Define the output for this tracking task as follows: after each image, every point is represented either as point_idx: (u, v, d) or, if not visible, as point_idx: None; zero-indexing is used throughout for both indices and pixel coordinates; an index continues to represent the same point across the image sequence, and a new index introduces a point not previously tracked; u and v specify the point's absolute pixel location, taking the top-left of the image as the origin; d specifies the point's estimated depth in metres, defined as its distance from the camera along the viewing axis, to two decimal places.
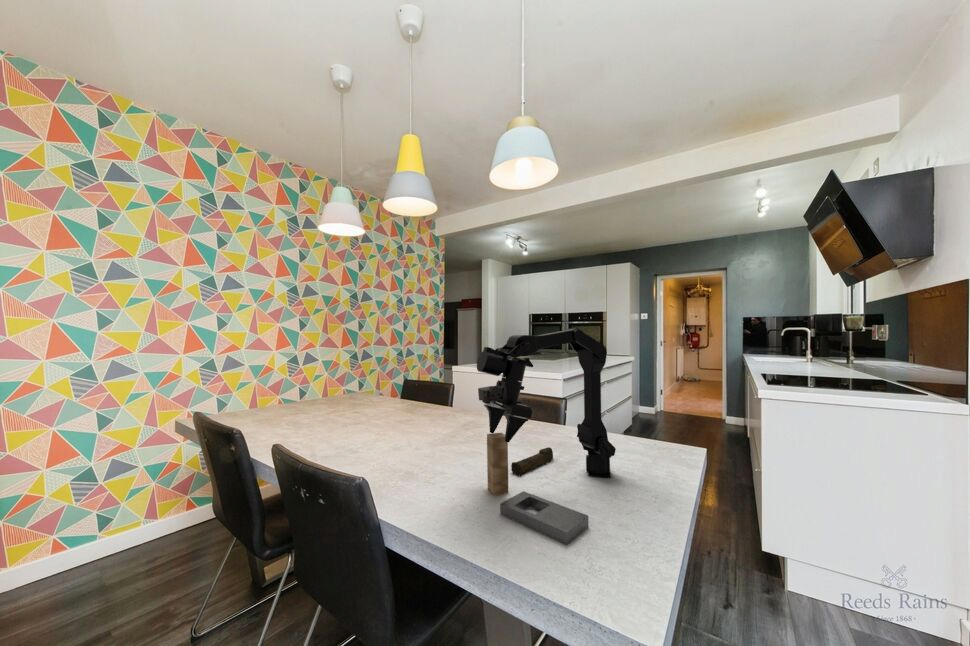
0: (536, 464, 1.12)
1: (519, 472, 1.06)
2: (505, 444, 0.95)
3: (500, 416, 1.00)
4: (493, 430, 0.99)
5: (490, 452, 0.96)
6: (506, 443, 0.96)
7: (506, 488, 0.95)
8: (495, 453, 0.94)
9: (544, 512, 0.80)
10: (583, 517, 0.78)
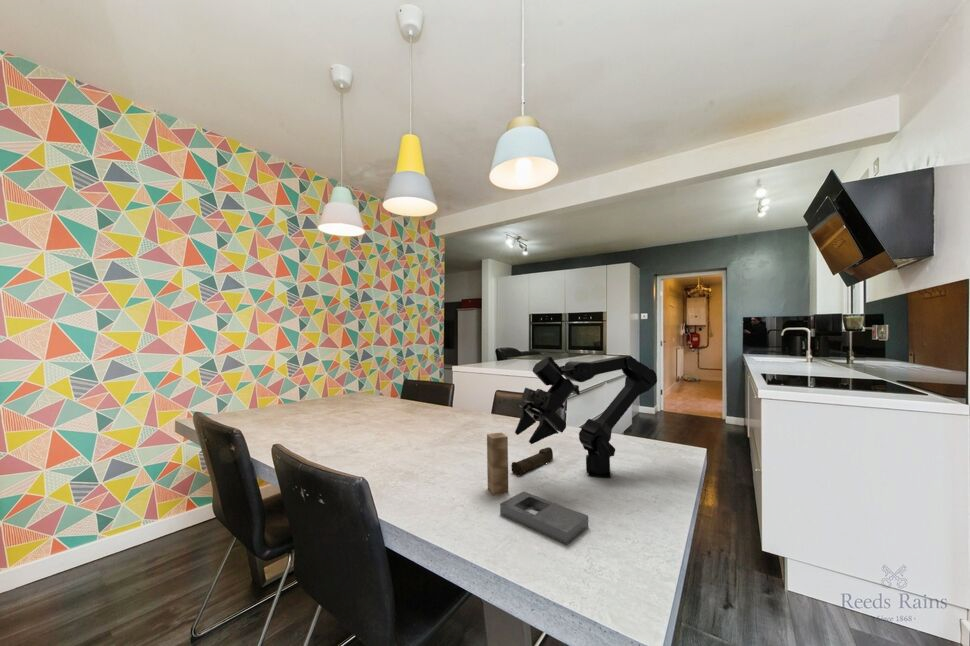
0: (536, 464, 1.12)
1: (519, 472, 1.06)
2: (505, 444, 0.95)
3: (529, 425, 1.06)
4: (518, 432, 1.04)
5: (490, 452, 0.96)
6: (506, 443, 0.96)
7: (506, 488, 0.95)
8: (495, 453, 0.94)
9: (544, 512, 0.80)
10: (583, 517, 0.78)
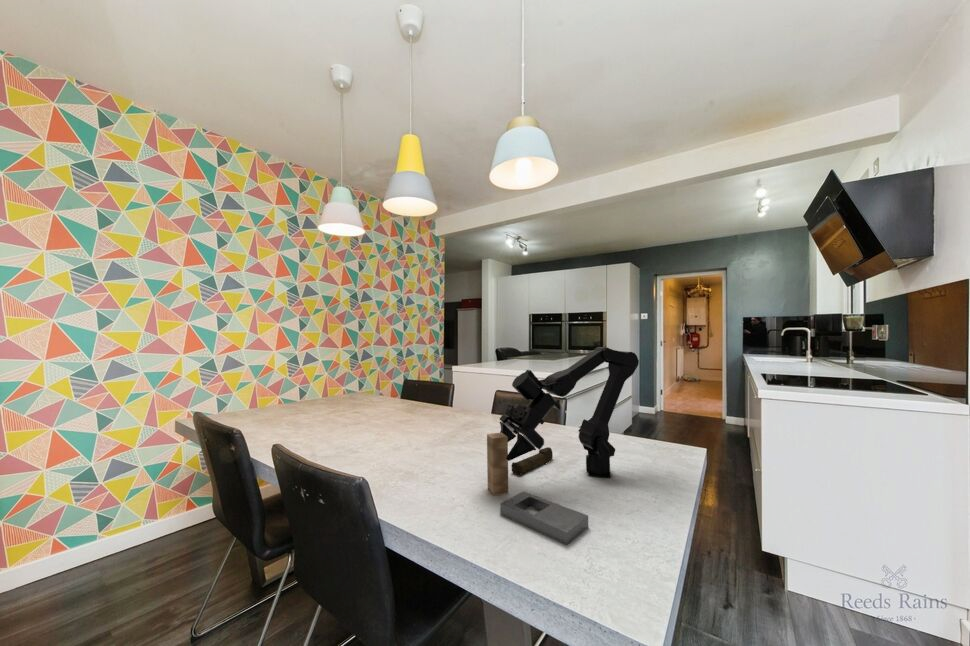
0: (536, 464, 1.12)
1: (519, 472, 1.06)
2: (505, 444, 0.95)
3: (509, 439, 1.04)
4: None
5: (490, 452, 0.96)
6: (506, 443, 0.96)
7: (506, 488, 0.95)
8: (495, 453, 0.94)
9: (544, 512, 0.80)
10: (583, 517, 0.78)
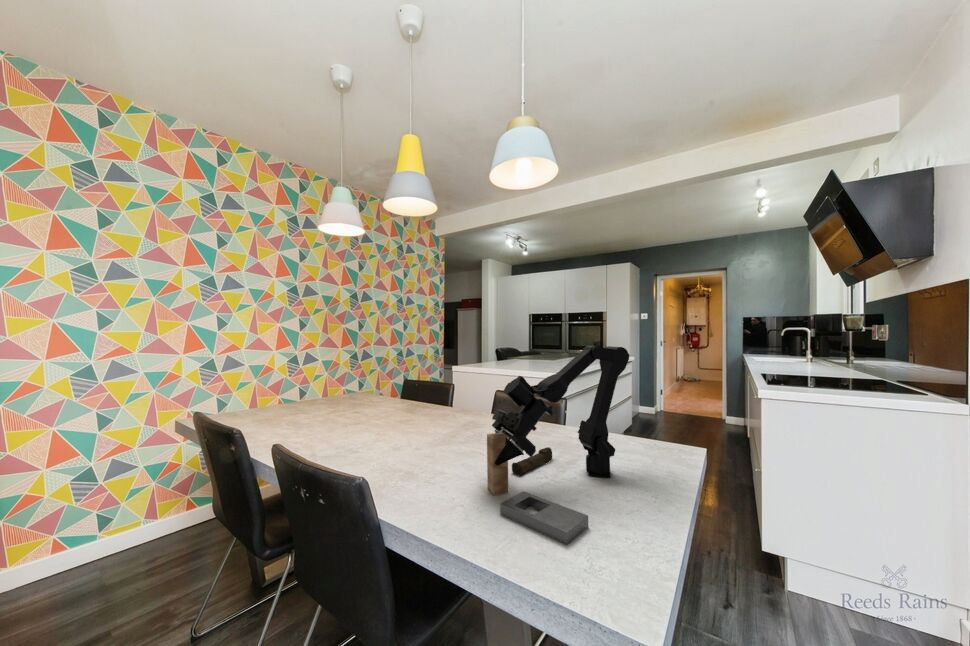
0: (536, 464, 1.12)
1: (520, 472, 1.06)
2: None
3: None
4: None
5: (490, 452, 0.96)
6: None
7: (506, 488, 0.95)
8: (495, 453, 0.94)
9: (544, 512, 0.80)
10: (583, 517, 0.78)
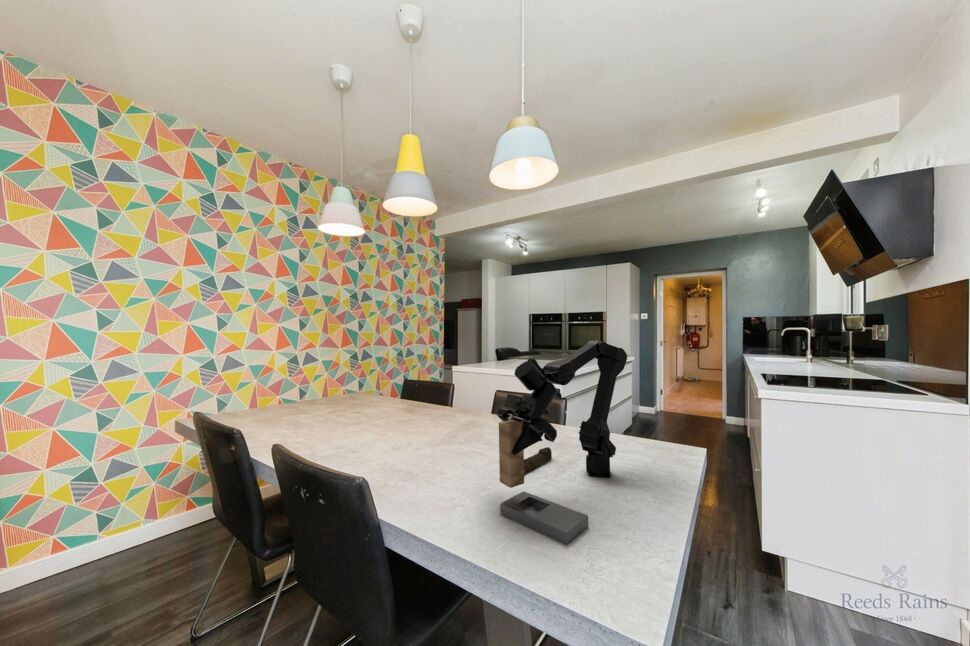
0: (536, 464, 1.12)
1: None
2: (521, 431, 0.88)
3: None
4: None
5: (505, 441, 0.88)
6: None
7: (522, 479, 0.88)
8: (512, 442, 0.87)
9: (544, 512, 0.80)
10: (583, 517, 0.78)
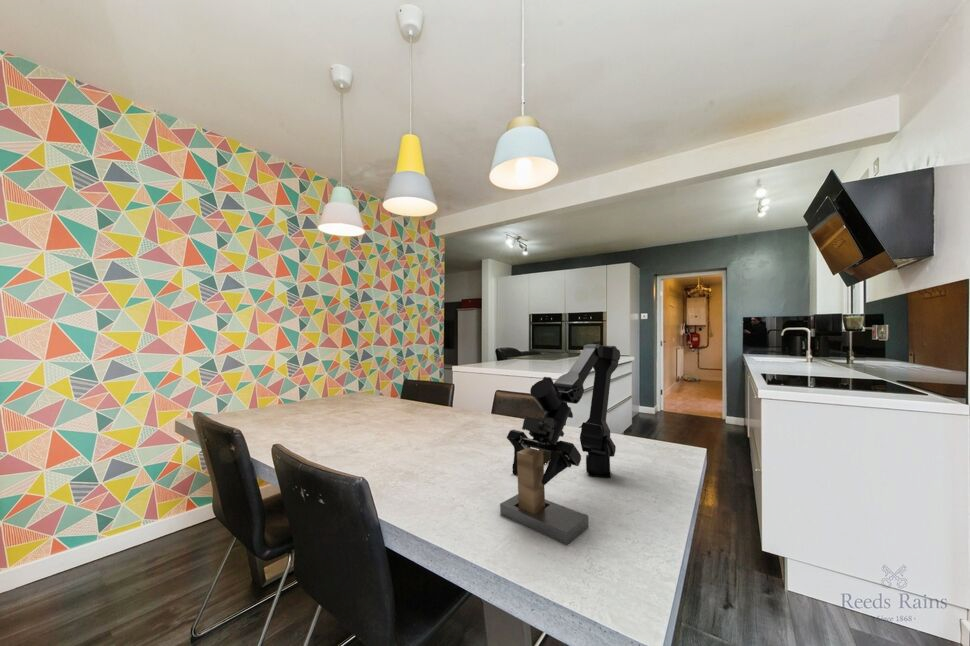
0: None
1: None
2: (541, 460, 0.83)
3: None
4: (516, 471, 0.86)
5: (526, 472, 0.81)
6: (542, 459, 0.83)
7: None
8: (534, 474, 0.81)
9: (544, 512, 0.80)
10: (583, 517, 0.78)
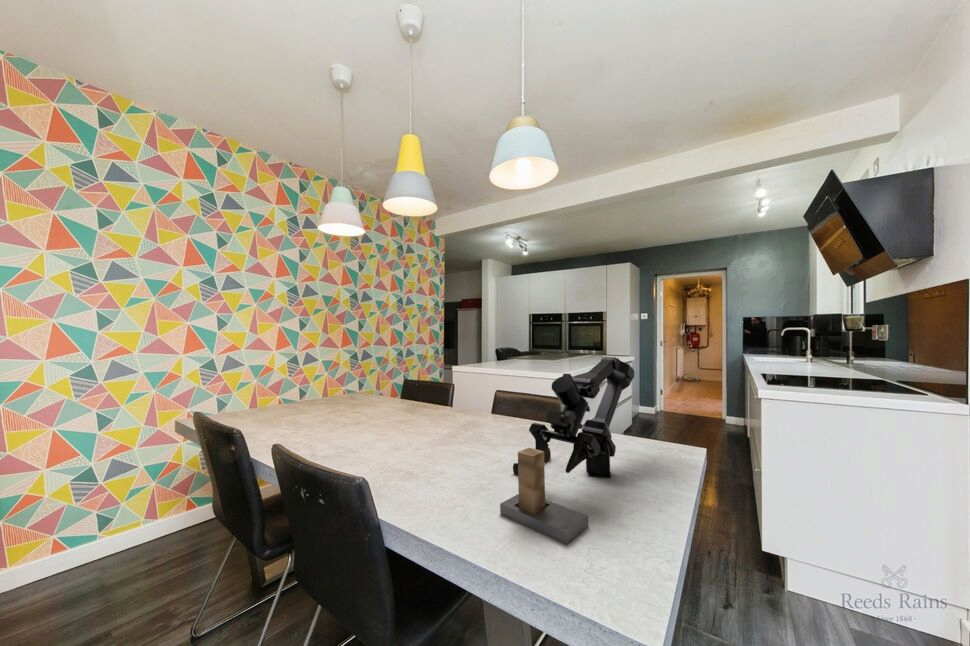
0: None
1: None
2: (542, 460, 0.83)
3: (544, 450, 0.96)
4: None
5: (527, 472, 0.81)
6: (543, 459, 0.83)
7: None
8: (535, 473, 0.81)
9: (544, 512, 0.80)
10: (583, 517, 0.78)
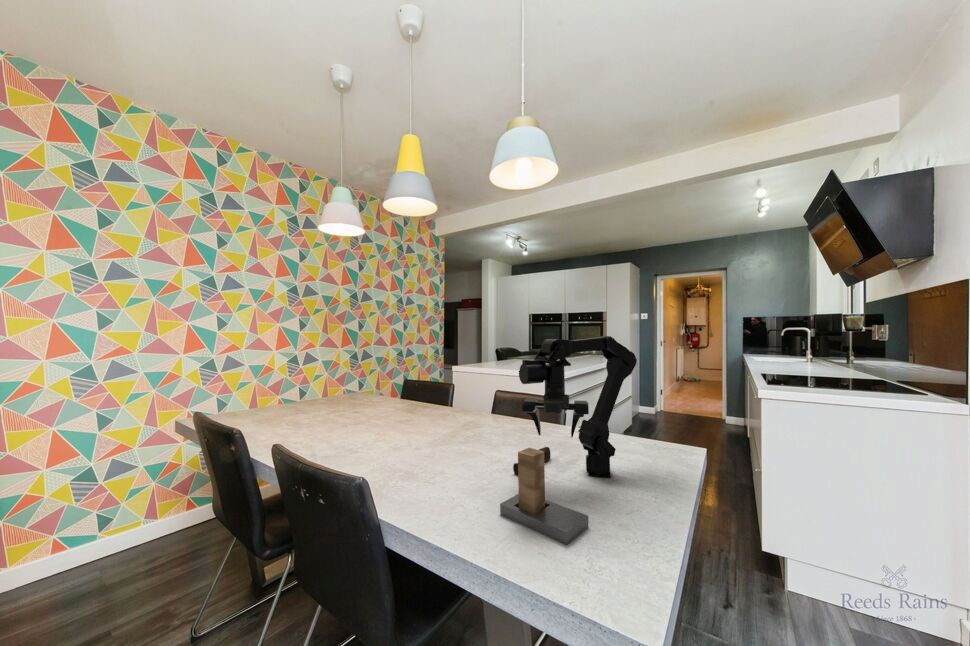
0: None
1: None
2: (542, 460, 0.83)
3: (538, 417, 1.06)
4: (540, 432, 1.04)
5: (527, 472, 0.81)
6: (543, 459, 0.83)
7: None
8: (535, 473, 0.81)
9: (544, 512, 0.80)
10: (583, 517, 0.78)
